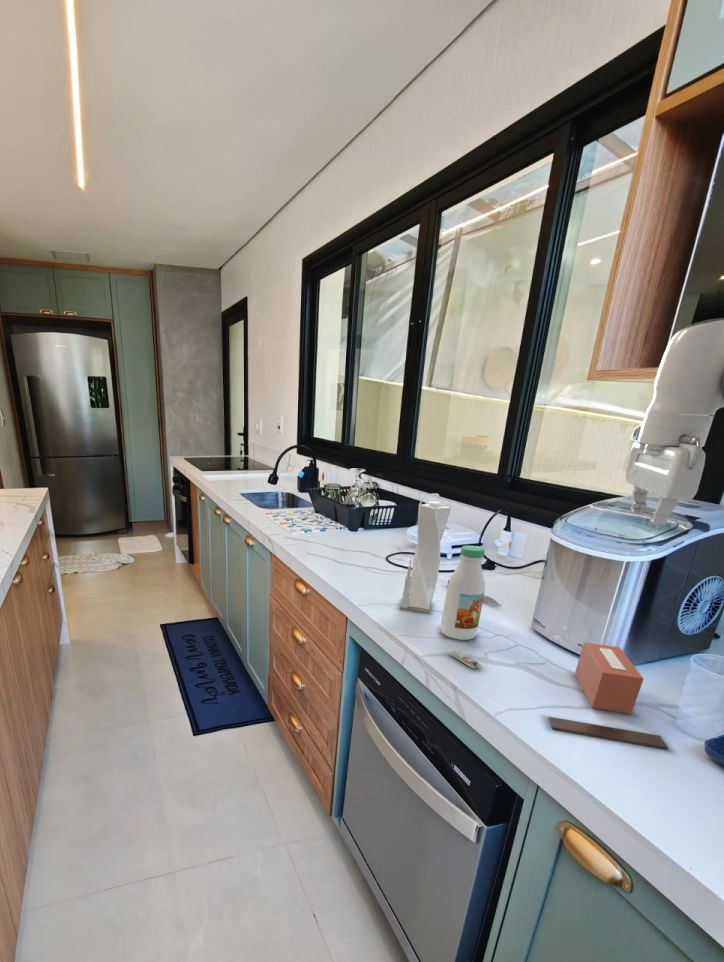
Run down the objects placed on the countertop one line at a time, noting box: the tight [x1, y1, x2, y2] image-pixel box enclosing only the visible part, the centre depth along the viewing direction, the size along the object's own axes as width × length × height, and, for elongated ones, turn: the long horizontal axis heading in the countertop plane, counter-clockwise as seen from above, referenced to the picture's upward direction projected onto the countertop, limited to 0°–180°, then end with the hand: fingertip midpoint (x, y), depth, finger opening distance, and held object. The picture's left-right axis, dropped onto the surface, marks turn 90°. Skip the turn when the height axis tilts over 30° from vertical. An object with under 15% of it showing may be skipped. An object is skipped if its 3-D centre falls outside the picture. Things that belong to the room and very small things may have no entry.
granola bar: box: [449, 650, 482, 669], centre depth 101 cm, size 7×2×1 cm, turn 25°
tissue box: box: [574, 642, 644, 715], centre depth 90 cm, size 6×12×7 cm, turn 164°
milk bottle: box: [440, 545, 486, 641], centre depth 110 cm, size 8×8×20 cm
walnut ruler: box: [548, 716, 669, 750], centre depth 80 cm, size 16×3×1 cm, turn 74°
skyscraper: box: [400, 493, 452, 614], centre depth 123 cm, size 8×8×28 cm
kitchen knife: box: [447, 579, 503, 607], centre depth 135 cm, size 18×1×2 cm, turn 27°
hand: (646, 518), depth 86 cm, fingers open, 8 cm apart
